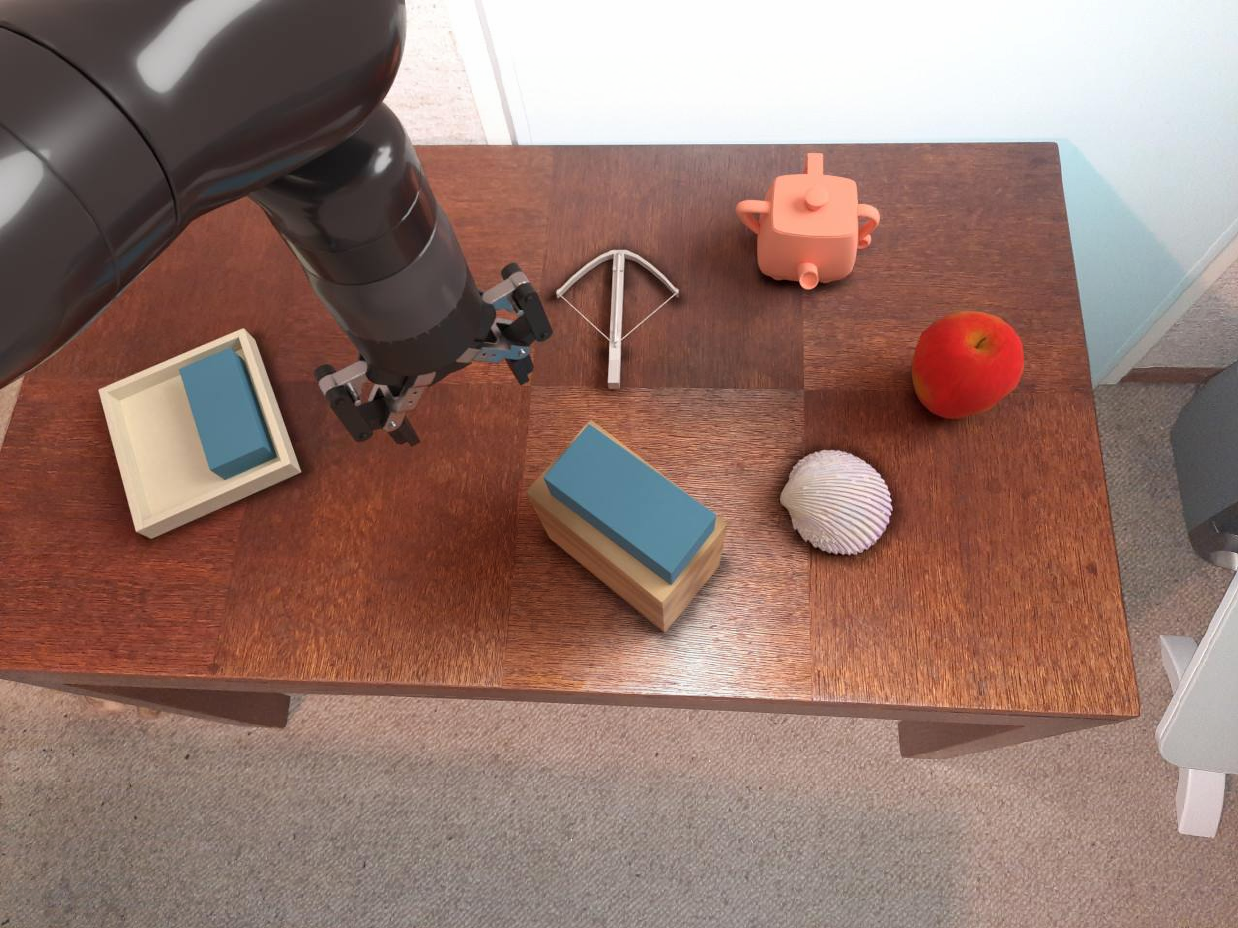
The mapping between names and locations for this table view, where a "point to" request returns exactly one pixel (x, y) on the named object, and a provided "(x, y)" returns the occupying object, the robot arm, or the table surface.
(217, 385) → the blue brick
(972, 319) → the apple
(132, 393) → the cream tray
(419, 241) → the robot arm
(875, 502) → the seashell
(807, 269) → the teapot
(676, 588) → the tan wooden block
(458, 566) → the table surface
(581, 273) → the crossbow
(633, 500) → the blue rectangular block
